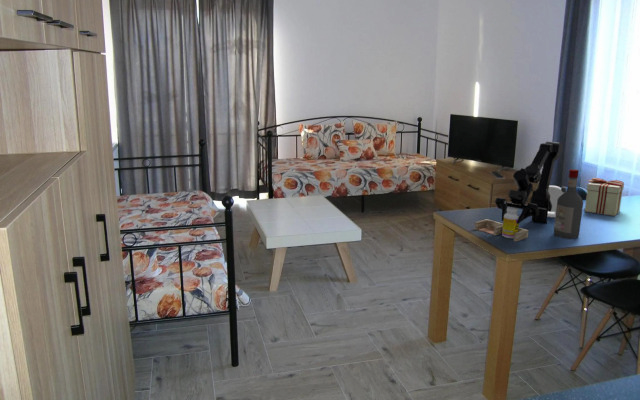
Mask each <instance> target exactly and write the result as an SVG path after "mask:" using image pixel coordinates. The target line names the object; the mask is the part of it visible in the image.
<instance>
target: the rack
mask: <svg viewBox="0 0 640 400" xmlns="http://www.w3.org/2000/svg"><path fill="white" fill-rule="evenodd" d="M474 230H475V231H479V232H483V233H487V234H491V235H493V236H498V235H502V230H503V223H502V222H499V221H497V220H496V221H495V220H492V219H487V218H485V219H482V220H477V221H475V222H474ZM528 237H529V229H526V228H525V229H524V228H521V227H519V229H518V232H517V233H514V238H513V241H514V242H518V241H522V240H525V239H528Z"/></svg>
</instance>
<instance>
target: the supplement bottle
mask: <svg viewBox="0 0 640 400" xmlns="http://www.w3.org/2000/svg"><path fill="white" fill-rule="evenodd" d="M518 213H519V209H518V208H513V207H508V208H507V213H506V214H505V215H504V220H503V221H502V222H503V230H502V234H501V236H502V237H503V238H507V239H512V240H514V233H517V232H518V229H519V228H520V223H519V224H517V221H518V219H519V217H520V215H519V214H518Z"/></svg>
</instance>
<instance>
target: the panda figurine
mask: <svg viewBox="0 0 640 400" xmlns="http://www.w3.org/2000/svg"><path fill="white" fill-rule="evenodd" d="M566 191H567V187H566V186H561V187H560V186H557V185H549V189H548V192H549V194H550V201H551V204H552V209H551V211H548V215H547V218H555V217H556V209H557V200H558V198H559V197H560V196H561V195H562V194H563V193H565V192H566Z"/></svg>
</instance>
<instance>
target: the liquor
mask: <svg viewBox="0 0 640 400" xmlns="http://www.w3.org/2000/svg"><path fill="white" fill-rule="evenodd" d="M578 178H579V169H569V171H568V183H567V187H566V192H565V193H563V194H562V195H561V196H560V197H559V198H558V200H557V209H556V217H554V219H555V220H554V224H553V225H554V226H553V234H554V236H555V237H558V238H561V239H563V240H564V239H566V240H572V239H577V238H579V236H580V230H581V223H582V216H583V209H584V202H583V199H582V197H581V196H580V195H579V193H578V192H577V191H578V190H577V184H578V183H577V182H578Z"/></svg>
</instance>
